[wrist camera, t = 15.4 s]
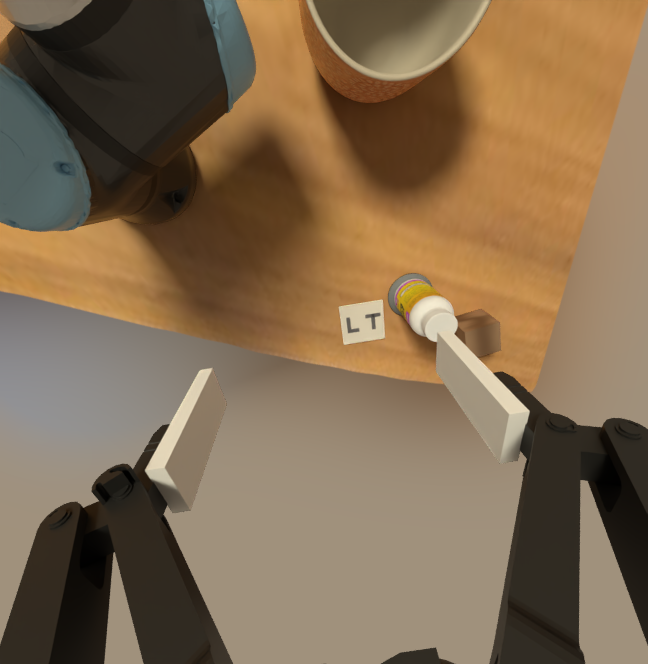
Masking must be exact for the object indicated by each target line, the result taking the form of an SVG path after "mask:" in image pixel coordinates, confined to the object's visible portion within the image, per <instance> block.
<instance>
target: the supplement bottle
mask: <svg viewBox="0 0 648 664" xmlns="http://www.w3.org/2000/svg"><path fill="white" fill-rule="evenodd" d="M394 302H395V305H396V307H397V309H398V310H399V311H400V313H401V314H402V316H403V317H404V318H405V320H406V321H407V322H408V324H409V325H410V326H411V328H412V329H413V330H414V331H415V332H416V333H417V334H418V335H421V336H424V337H427V338H428V339H429V340H431V341H433V342H437V332H443V331H449V330H451V331H452V332H453V333H455V332H456V330H457V326H458V322H457V319H456V318H455V316H454V310H453V307H452V305H451V303H450V302H449V301H448V300H447V299H445V298H444V297H443V296H442V295H440V294H439V293H438V292H437V291H436V290H435V289H433V288H432V287H431V286H430V285H429V284H428V283H426V282H425V281H423V280H421V279H410V280H407V281H405V282H404V283H402V284H401V285H400V286H399V287H398V289H397V290H396V293H395V296H394Z"/></svg>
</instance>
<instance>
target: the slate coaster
mask: <svg viewBox="0 0 648 664" xmlns="http://www.w3.org/2000/svg"><path fill="white" fill-rule="evenodd" d="M410 279H421V280H423V281H425V282H426V283H428V284H429V285H430V286H431V287H432V285H431V283H430V281H429V280H428V279H427V278H426V277H424V276H423V275H420V274H416V273H411V274H406V275H404V276H402V277H400V278H398V279H397V280H396V281H395V282H394V283H393V284H392V286H391V288H390V290H389V293H388V302H389V305H390V307H391V308H392V310H393V311H394V312H395V313H397V314H399V315H402V314H401V313H400V311H399V310H398V309H397V307H396V305H395V302H394V296H395V293H396V290H397V289H398V287H399V286H400V285H401V284H402V283H404V282H405V281H407V280H410Z"/></svg>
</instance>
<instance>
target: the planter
mask: <svg viewBox="0 0 648 664" xmlns="http://www.w3.org/2000/svg"><path fill="white" fill-rule="evenodd" d="M491 1H492V0H299V7H300V15H301V21H302V27H303V32H304V36H305V40H306V43H307V46H308V49H309V52H310V54H311V57H312V59H313V61H314V63H315V65H316V67H317V69H318V71H319V72H320V74H321V75H322V77H323V78H324V79H325V80H326V82H327V83H328V84H329V85H330V86H331V87H332V88H333V89H335V90H336V91H337V92H338V93H340V94H341V95H343V96H345V97H347V98H349V99H351V100H354V101H358V102H363V103H376V102H381V101H385V100H389V99H392V98H394V97H397V96H399V95H401V94H402V93H404V92H406V91H408V90H409V89H411V88H412V87H414V86H415V85H417V84H418V83H419V82H421V81H422V80H423V79H425V78H426V77H428V76H429V75H430V74H432V73H433V72H434V71H436V70H437V69H438V68H440V67H441V66H442V65H443V64H445V63H446V62H447V61H448V60H449V59H450V58H451V57H452V56H454V55H455V54H456V53H457V52H458V51H459V50H460V48H461V47H462V46H463V45H464V44H465V43H466V42H467V40H468V39H469V38H470V36H471V35H472V34H473V32H474V31H475V29H476V28H477V26H478V25H479V23H480V22H481V20H482V18H483V16H484V15H485V13H486V11H487V9H488V7H489V5H490V3H491Z"/></svg>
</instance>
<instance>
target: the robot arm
mask: <svg viewBox="0 0 648 664" xmlns="http://www.w3.org/2000/svg"><path fill="white" fill-rule="evenodd" d="M0 13H1V14H2V15H4V16H5V17H6V18H7V19H8V20H9V21H10V22H11V23H13V24H14V25H15V26H14V28H13V29H12V30H11V31H10V32H9V34H8V35H7V36H6V37H5V38H4V40H3V41H2V42H1V43H0V222H1V223H4V224H6V225H9V226H11V227H15V228H20V229H25V230H29V231H37V232H43V231H69V230H74V229H75V228H77V227H80V226H85V225H89V224H94V223H98V222H103V221H107V220H112V219H116V218H121V219H124V220H126V221H129V222H133V223H138V224H158V223H162V222H166V221H169V220H171V219H174V218H175V217H177V216H179V215H180V214H181V213H182V212H183V211H184V210H185V209H186V208H187V207H188V205H189V204H190V202H191V200H192V198H193V195H194V192H195V187H196V168H195V163H194V159H193V156H192V153H191V150H190V148H189V146H188V145H190V144H191V143H192V142H193V141H194V140H195V139H196V138H197V137H199V136H200V135H201V134H202V133H203V132H204V131H205V130H207V129H208V128H209V127H210V126H211V125H212V124H213V123H215V122H216V121H217V120H218V119H219V118H220V117H221V116H223V115H224V114H225V113H229V112H230V110H231V109H232V107H233V104H234V103H235V102H236V101H237V100H238V99H239V98H240V97H241V96H242V95H243V94H244V93H245V92H246V91H247V90H248V89H249V88H250V87H251V85H252V82H253V80H254V77H255V74H256V60H255V55H254V50H253V47H252V43H251V40H250V37H249V34H248V31H247V28H246V25H245V23H244V20H243V17H242V15H241V12H240V10H239V7H238V5H237V2H236V0H0ZM436 372H437V374H438V375H439V377H440V378H441V379H442V381H443V382H444V384H445V385H446V387H447V388H448V390H449V391H450V393H451V394H452V395H453V397H454V398H455V400H456V401H457V403H458V404H459V405H460V407H461V408H462V410H463V411H464V413H465V414H466V416H467V417H468V419H469V420H470V421H471V423H472V424H473V426H474V427H475V429H476V430H477V431H478V433H479V434H480V436H481V437H482V439H483V440H484V442H485V443H486V445H487V446H488V447H489V449H490V450H491V452H492V453H493V455H494V456H495V458H496V459H497V461H498V462H499V463H506V462H513V461H518V458H519V454H520V451H521V452H522V453H523V455H524V456H525V457H526V458H527V461H526V464H525V469H524V472H523V482H522V487H521V493H520V499H519V505H518V510H517V516H516V522H515V527H514V533H513V539H512V544H511V550H510V555H509V562H508V567H507V572H506V578H505V584H504V590H503V596H502V601H501V607H500V612H499V618H498V624H497V629H496V635H495V640H494V646H493V650H492V655H491V659H490V664H585V660H584V655H583V652H582V651H581V649H580V646H579V561H580V560H579V559H580V554H579V553H580V480H586V481H588V483H589V486H590V488H591V491H592V494H593V497H594V499H595V502H596V505H597V508H598V510H599V513H600V516H601V518H602V521H603V524H604V527H605V529H606V532H607V535H608V538H609V540H610V543H611V546H612V548H613V551H614V554H615V557H616V559H617V562H618V565H619V568H620V570H621V573H622V576H623V579H624V581H625V584H626V587H627V590H628V592H629V595H630V598H631V600H632V603H633V606H634V609H635V612H636V614H637V617H638V620H639V623H640V625H641V628H642V631H643V633H644V636H645V638H646V642H647V644H648V429H646V428H645V427H643V426H642V425H640V424H638V423H635V422H633V421H630V420H626V419H621V418H611V419H608V420H606V421H605V423H604V424H603V426H602V427H591V426H580V425H577V424H576V423H575V422H574V421H572V420H570V419H569V418H568V417H565V416H562V415H560V414H554V413H551V412H550V411H548V410H547V409H546V408H545V407H544V406H543V405H542V404H541V403H540V402H539V401H538V400H537V399H536V398H535V397H534V396H533V395H531V394H530V393H529V392H527V390H526V389H525V388H524V387H523V386H521V384H520V383H519V382H518V381H517V380H516V379H515V378H513V377H512V376H510V375H508V374H506V373H504V372H496V373H492V372H491V371H490V370H489V369H488V368H487V367H486V366H485V365H484V364H483V363H482V362H481V361H480V360H479V359H478V358H477V357H476V356H475V355H474V354H473V353H472V352H471V351H470V350H469V349H468V347H467V346H466V345H465V344H464V343H463V342H462V341H461V340H460V339H459V338H458V337H457V336H456V335H455V334H454V333H453V332H452V331H451V330H449V331H443V332H437V356H436ZM226 406H227V403H226V401H225V398H224V395H223V393H222V390H221V388H220V385H219V383H218V380H217V378H216V375H215V373H214V370H213V368H210V369H203V370H200V371H199V372H198V374H197V376H196V378H195V380H194V382H193V383H192V385H191V387H190V389H189V391H188V393H187V394H186V396H185V398H184V400H183V402H182V404H181V405H180V407H179V409H178V411H177V413H176V415H175V416H174V418H173V420H172V422H171V424H168V425H162V426H161V427H160V428H159V429H158V430H157V432H155V433H154V434H153V436H152V438H151V440H150V441H149V444H148V445H147V446H146V448H145V450H144V452H143V453H142V455H141V457H140V458H139V460H138V462H137V463H136V465H135V467H134V469H132V468H131V467H130V466H129V465H128V464H120V465H116V466H114V467H112V468H110V469H108V470H107V471H105V472H104V473H103V474H101V476H99V477H98V479H96V481H95V482H94V484H93V486H92V493H93V494H94V495H95V496H96V497H97V499H98V500H99V502H96V503H94V504H91V505H89V506H86V507H85V508H83V507H82V506H81V505H80V504H79V503H78V502H70V503H67V504H64V505H62V506H60V507H58V508H57V509H55V510H54V511H53V512H51V513H50V514H49V515H48V516H47V517H46V518H45V519H44V520H43V522H42V523H41V524H40V526H39V528H38V530H37V533H36V536H35V539H34V542H33V546H32V548H31V552H30V555H29V558H28V561H27V564H26V567H25V570H24V574H23V576H22V580H21V583H20V586H19V589H18V592H17V595H16V598H15V601H14V604H13V607H12V610H11V613H10V616H9V619H8V622H7V626H6V629H5V632H4V635H3V638H2V641H1V644H0V664H104V659H105V647H106V635H107V623H108V611H109V599H110V587H111V575H112V563H113V562H112V561H113V553H114V552H115V554H116V558H117V562H118V566H119V570H120V574H121V578H122V581H123V585H124V589H125V593H126V597H127V601H128V605H129V609H130V612H131V616H132V620H133V624H134V628H135V632H136V636H137V640H138V644H139V647H140V651H141V655H142V659H143V663H144V664H233V662H232V660H231V658H230V656H229V654H228V652H227V649H226V647H225V645H224V643H223V641H222V639H221V636H220V634H219V632H218V630H217V628H216V626H215V623H214V621H213V619H212V617H211V615H210V613H209V610H208V608H207V606H206V604H205V602H204V600H203V597H202V595H201V593H200V591H199V589H198V587H197V584H196V582H195V580H194V578H193V576H192V574H191V571H190V569H189V567H188V565H187V563H186V561H185V558H184V556H183V554H182V552H181V550H180V548H179V546H178V543H177V541H176V539H175V537H174V535H173V532H172V530H171V528H170V526H169V524H168V522H167V519H166V518H165V516H164V515H163V514H164V512H165V509H166V507H167V505H168V507H169V508H170V510H171V511H172V513H178V512H184V511H190V510H191V508H192V505H193V502H194V499H195V496H196V493H197V490H198V487H199V484H200V481H201V478H202V476H203V472H204V470H205V467H206V464H207V461H208V458H209V455H210V452H211V449H212V446H213V443H214V441H215V438H216V435H217V431H218V429H219V426H220V423H221V420H222V417H223V414H224V411H225V408H226ZM381 664H454V663H452V662H449V661H447V660H443V659H439V657H438V653H437V650H436V648H430V649H423V650H416V651H409V652H402V653H399V654H397V655H395V656H394V657H392V658H390V659H388V660H387V661H385V662H383V663H381Z"/></svg>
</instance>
